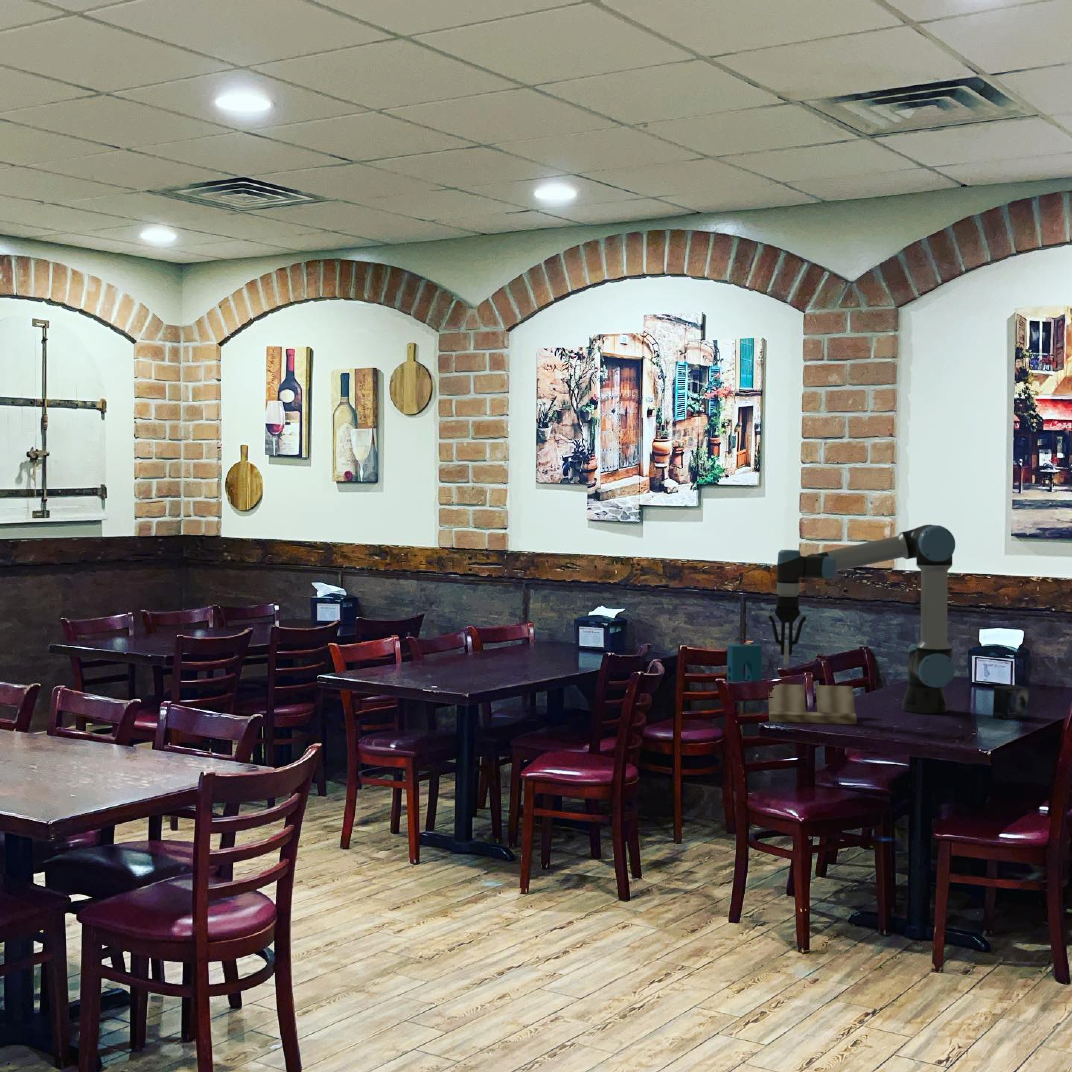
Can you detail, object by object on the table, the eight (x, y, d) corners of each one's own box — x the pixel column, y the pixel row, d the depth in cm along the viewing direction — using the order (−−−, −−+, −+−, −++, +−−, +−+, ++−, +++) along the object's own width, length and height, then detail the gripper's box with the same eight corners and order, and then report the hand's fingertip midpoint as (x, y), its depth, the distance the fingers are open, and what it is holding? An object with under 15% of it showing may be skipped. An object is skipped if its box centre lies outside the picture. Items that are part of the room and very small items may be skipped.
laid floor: (854, 721, 450) (855, 713, 450) (856, 724, 444) (856, 716, 444) (769, 718, 454) (769, 710, 454) (769, 721, 448) (769, 713, 448)
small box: (1006, 720, 454) (1007, 689, 454) (991, 717, 460) (992, 686, 459) (1029, 717, 459) (1030, 687, 458) (1014, 714, 465) (1015, 684, 464)
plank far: (804, 690, 464) (804, 684, 462) (805, 717, 454) (805, 711, 452) (768, 689, 466) (768, 683, 464) (769, 716, 455) (769, 710, 454)
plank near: (852, 691, 462) (852, 686, 460) (854, 718, 451) (854, 713, 450) (816, 690, 463) (816, 685, 462) (817, 717, 453) (818, 712, 452)
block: (755, 698, 495) (755, 643, 494) (762, 700, 490) (762, 645, 490) (725, 700, 491) (726, 645, 490) (732, 702, 486) (733, 646, 486)
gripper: (806, 595, 464) (804, 663, 465) (768, 593, 466) (766, 662, 467) (808, 596, 457) (806, 666, 458) (768, 595, 458) (766, 665, 459)
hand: (785, 664), depth 462 cm, fingers closed
